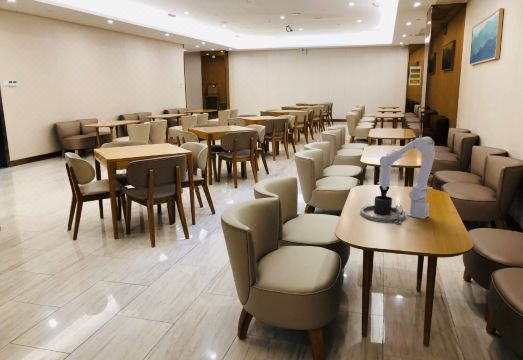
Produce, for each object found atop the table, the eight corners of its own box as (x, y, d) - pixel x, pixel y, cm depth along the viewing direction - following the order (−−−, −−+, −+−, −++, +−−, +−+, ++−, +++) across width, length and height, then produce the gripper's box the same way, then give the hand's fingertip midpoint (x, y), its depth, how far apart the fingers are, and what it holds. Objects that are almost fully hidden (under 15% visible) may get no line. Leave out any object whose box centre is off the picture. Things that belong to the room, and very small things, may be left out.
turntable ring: (412, 214, 230) (413, 211, 230) (392, 225, 213) (393, 221, 213) (373, 205, 247) (373, 202, 246) (352, 214, 230) (352, 211, 229)
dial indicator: (402, 224, 215) (404, 206, 213) (397, 225, 214) (399, 206, 212) (397, 221, 220) (398, 203, 217) (392, 222, 219) (393, 203, 216)
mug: (392, 210, 238) (393, 195, 236) (389, 216, 228) (391, 201, 225) (375, 208, 242) (376, 193, 240) (372, 214, 231) (373, 199, 229)
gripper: (378, 172, 249) (376, 194, 253) (378, 178, 236) (376, 200, 239) (390, 173, 247) (388, 195, 251) (390, 179, 234) (388, 202, 237)
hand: (383, 198), depth 245 cm, fingers closed
